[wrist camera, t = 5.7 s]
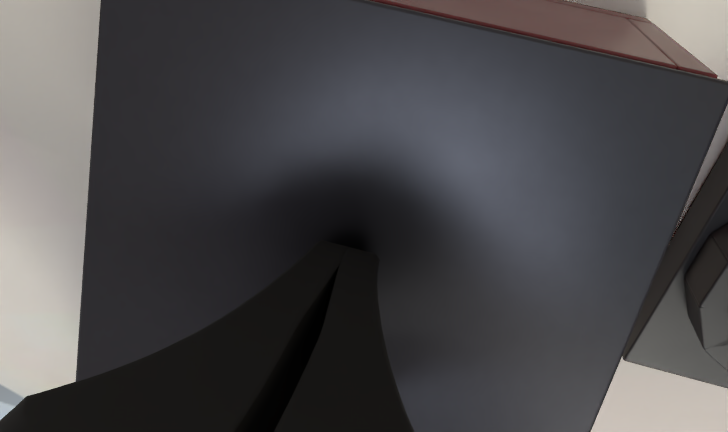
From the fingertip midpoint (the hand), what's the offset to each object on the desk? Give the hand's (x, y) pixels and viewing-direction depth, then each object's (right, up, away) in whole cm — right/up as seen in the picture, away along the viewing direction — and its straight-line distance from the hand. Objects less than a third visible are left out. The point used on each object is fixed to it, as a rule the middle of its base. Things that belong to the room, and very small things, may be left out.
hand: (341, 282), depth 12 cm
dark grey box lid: (0, -1, +2) cm, 2 cm away
